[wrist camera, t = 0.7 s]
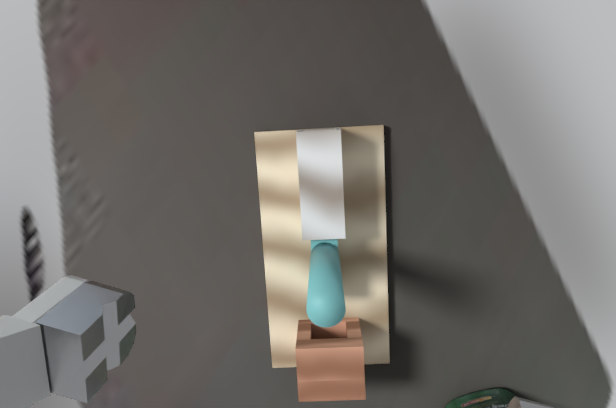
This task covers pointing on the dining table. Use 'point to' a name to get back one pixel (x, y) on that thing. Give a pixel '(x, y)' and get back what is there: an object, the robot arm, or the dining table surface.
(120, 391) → the dining table surface
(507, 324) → the dining table surface
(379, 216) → the tube fixture
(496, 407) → the coffee jar
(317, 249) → the tube
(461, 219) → the dining table surface
